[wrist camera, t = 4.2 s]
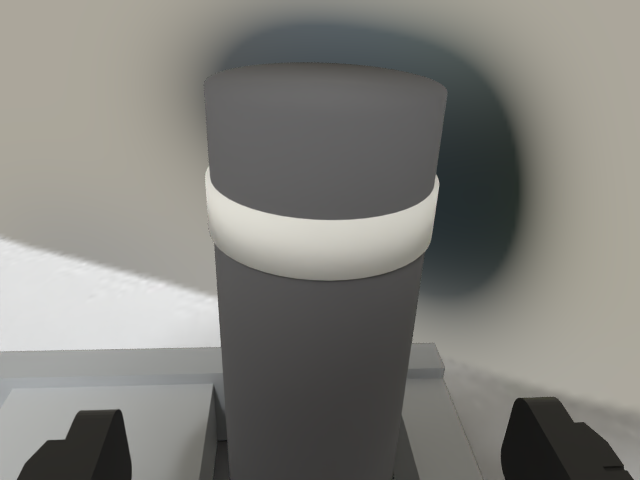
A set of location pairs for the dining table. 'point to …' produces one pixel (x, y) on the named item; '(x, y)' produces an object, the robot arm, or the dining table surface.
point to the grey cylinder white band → (318, 259)
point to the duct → (195, 410)
